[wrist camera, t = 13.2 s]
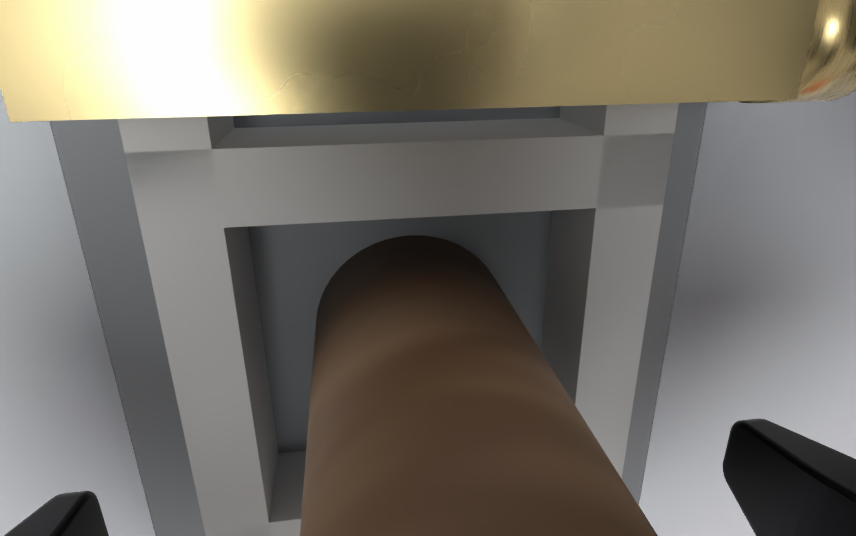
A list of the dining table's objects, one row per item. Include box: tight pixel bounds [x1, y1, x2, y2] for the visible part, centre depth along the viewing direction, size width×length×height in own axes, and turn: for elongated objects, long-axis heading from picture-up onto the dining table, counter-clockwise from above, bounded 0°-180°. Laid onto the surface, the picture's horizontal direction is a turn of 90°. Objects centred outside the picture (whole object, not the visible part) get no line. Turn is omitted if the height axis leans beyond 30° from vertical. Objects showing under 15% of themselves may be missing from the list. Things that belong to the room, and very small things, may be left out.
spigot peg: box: [300, 235, 657, 536], centre depth 9 cm, size 4×4×8 cm
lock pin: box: [0, 0, 856, 122], centre depth 7 cm, size 10×2×2 cm, turn 90°
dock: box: [50, 102, 707, 536], centre depth 11 cm, size 12×18×3 cm
